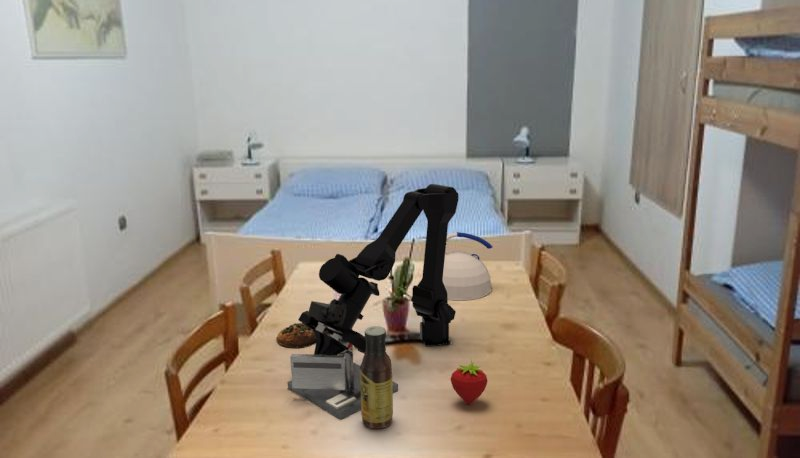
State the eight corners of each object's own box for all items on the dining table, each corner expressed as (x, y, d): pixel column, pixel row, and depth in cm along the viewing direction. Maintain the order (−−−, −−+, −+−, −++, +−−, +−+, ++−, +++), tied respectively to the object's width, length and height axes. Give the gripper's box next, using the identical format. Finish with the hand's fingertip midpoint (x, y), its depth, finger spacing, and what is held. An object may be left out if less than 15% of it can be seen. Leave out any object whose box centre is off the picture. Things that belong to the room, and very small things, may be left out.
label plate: (344, 393, 135) (344, 391, 134) (356, 399, 132) (356, 397, 132) (325, 402, 131) (325, 400, 131) (337, 409, 129) (337, 407, 129)
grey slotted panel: (354, 386, 135) (353, 350, 133) (353, 390, 133) (352, 354, 131) (293, 384, 136) (291, 348, 134) (292, 388, 135) (289, 352, 132)
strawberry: (451, 395, 136) (451, 351, 134) (487, 397, 135) (488, 353, 132) (449, 409, 131) (449, 365, 128) (486, 412, 129) (487, 367, 127)
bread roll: (307, 351, 158) (304, 331, 157) (269, 350, 162) (265, 331, 161) (328, 334, 168) (325, 316, 167) (291, 334, 172) (288, 316, 171)
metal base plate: (344, 363, 151) (343, 354, 150) (398, 390, 139) (397, 380, 138) (287, 388, 140) (287, 378, 140) (340, 419, 128) (340, 409, 127)
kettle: (427, 277, 209) (427, 223, 204) (491, 279, 206) (493, 224, 202) (420, 299, 190) (420, 241, 185) (491, 302, 187) (493, 242, 182)
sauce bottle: (361, 414, 130) (357, 322, 124) (392, 412, 130) (390, 321, 125) (362, 432, 123) (358, 337, 118) (394, 430, 124) (392, 335, 118)
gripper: (301, 276, 140) (263, 339, 136) (358, 297, 127) (318, 367, 123) (332, 299, 148) (296, 359, 143) (388, 321, 135) (351, 388, 131)
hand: (314, 367), depth 135 cm, fingers closed
